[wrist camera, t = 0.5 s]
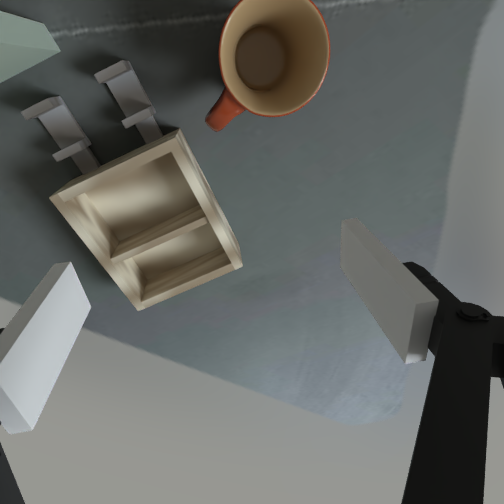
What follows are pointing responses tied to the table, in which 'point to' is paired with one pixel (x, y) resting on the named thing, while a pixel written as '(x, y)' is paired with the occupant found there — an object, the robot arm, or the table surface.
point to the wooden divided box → (141, 200)
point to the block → (22, 44)
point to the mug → (270, 59)
